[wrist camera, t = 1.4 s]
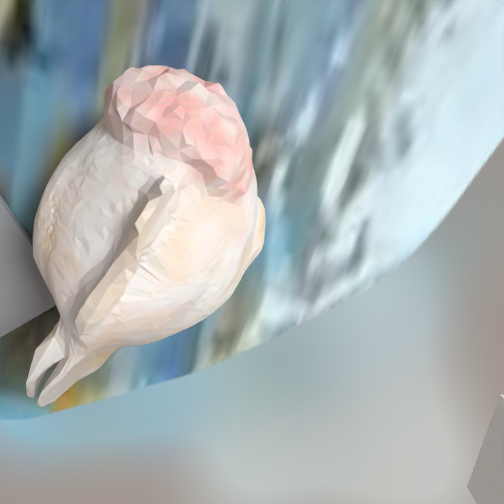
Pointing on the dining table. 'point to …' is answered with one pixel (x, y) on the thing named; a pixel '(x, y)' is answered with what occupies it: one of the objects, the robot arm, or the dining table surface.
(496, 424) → the robot arm
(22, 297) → the mat
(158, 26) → the dining table surface
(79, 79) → the dining table surface
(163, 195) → the white garlic bulb
